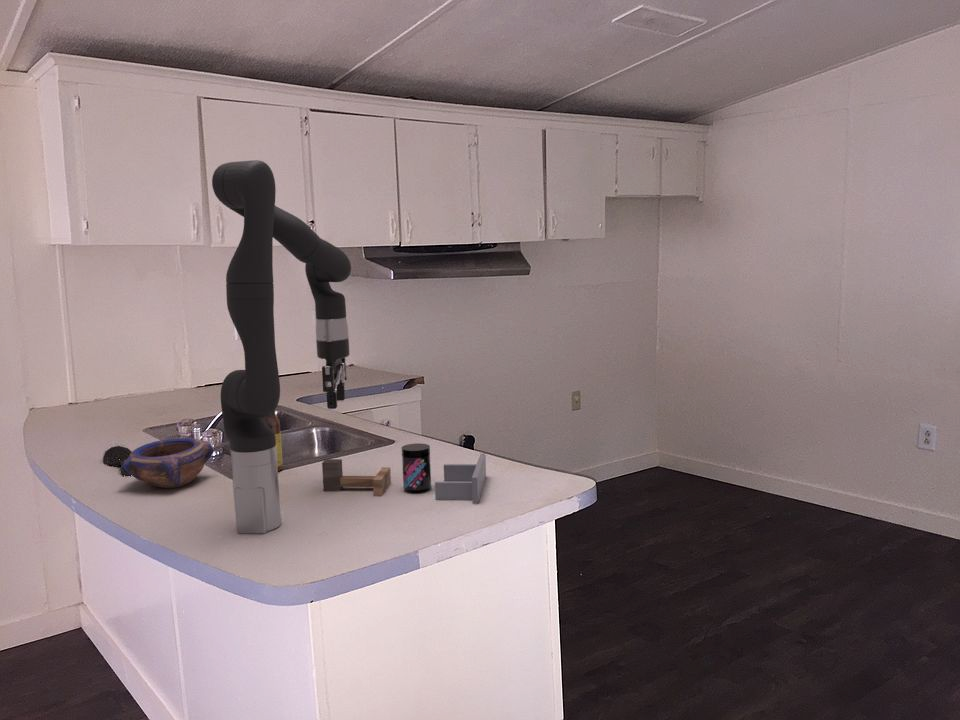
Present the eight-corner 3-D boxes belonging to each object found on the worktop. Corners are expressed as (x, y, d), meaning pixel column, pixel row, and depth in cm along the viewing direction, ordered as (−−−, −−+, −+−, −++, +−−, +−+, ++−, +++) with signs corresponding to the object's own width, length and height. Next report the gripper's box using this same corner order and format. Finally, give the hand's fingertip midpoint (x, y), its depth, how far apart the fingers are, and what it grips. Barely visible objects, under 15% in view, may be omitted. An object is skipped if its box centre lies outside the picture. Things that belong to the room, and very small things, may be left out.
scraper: (382, 496, 188) (380, 467, 187) (319, 495, 189) (317, 467, 188) (390, 483, 198) (389, 455, 197) (331, 482, 199) (329, 455, 198)
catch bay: (477, 503, 181) (477, 477, 180) (433, 503, 182) (432, 477, 181) (486, 476, 200) (485, 453, 199) (446, 476, 201) (445, 453, 200)
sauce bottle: (257, 469, 213) (251, 395, 210) (281, 466, 215) (275, 393, 212) (260, 475, 207) (255, 399, 204) (285, 472, 209) (280, 397, 206)
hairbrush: (111, 470, 207) (99, 445, 228) (112, 484, 208) (100, 457, 229) (146, 465, 211) (131, 441, 232) (147, 478, 212) (132, 453, 233)
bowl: (115, 491, 197) (111, 452, 196) (167, 471, 214) (163, 434, 212) (174, 498, 191) (171, 457, 190) (223, 476, 208) (220, 438, 206)
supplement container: (397, 489, 192) (395, 447, 191) (420, 483, 197) (418, 441, 195) (414, 496, 187) (412, 452, 186) (437, 489, 192) (435, 446, 190)
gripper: (323, 333, 197) (327, 398, 200) (308, 341, 183) (313, 411, 186) (354, 332, 197) (357, 397, 199) (341, 341, 183) (345, 411, 185)
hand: (336, 404), depth 193 cm, fingers open, 8 cm apart
